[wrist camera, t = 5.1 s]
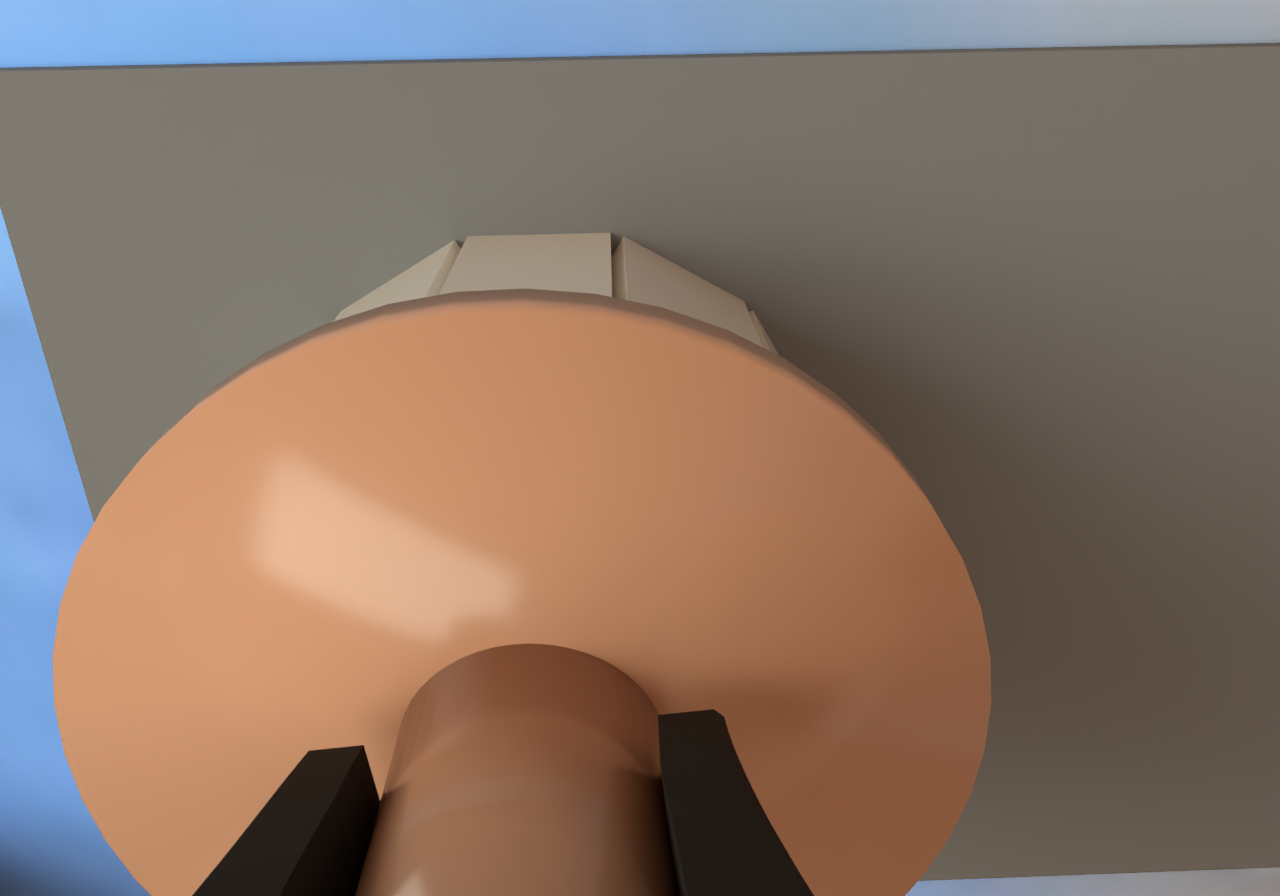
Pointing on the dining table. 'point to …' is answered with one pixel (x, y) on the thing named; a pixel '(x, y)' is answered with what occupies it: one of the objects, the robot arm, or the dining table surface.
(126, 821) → the lid
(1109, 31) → the dining table surface
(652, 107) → the mat
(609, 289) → the bowl
